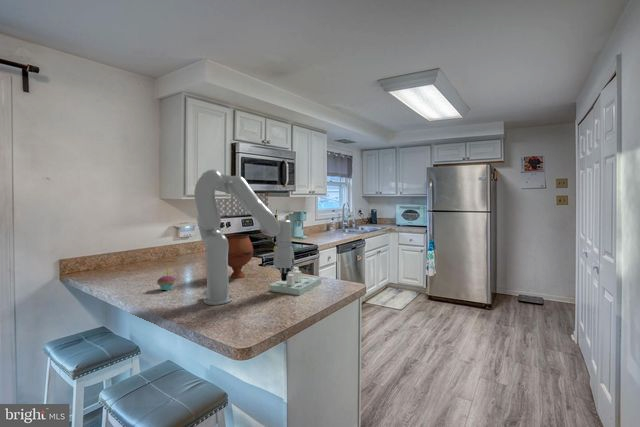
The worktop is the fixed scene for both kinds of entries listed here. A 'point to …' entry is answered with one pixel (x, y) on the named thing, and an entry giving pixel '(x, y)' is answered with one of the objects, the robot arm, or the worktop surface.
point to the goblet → (238, 253)
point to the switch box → (295, 286)
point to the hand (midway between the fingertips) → (284, 280)
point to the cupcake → (166, 281)
